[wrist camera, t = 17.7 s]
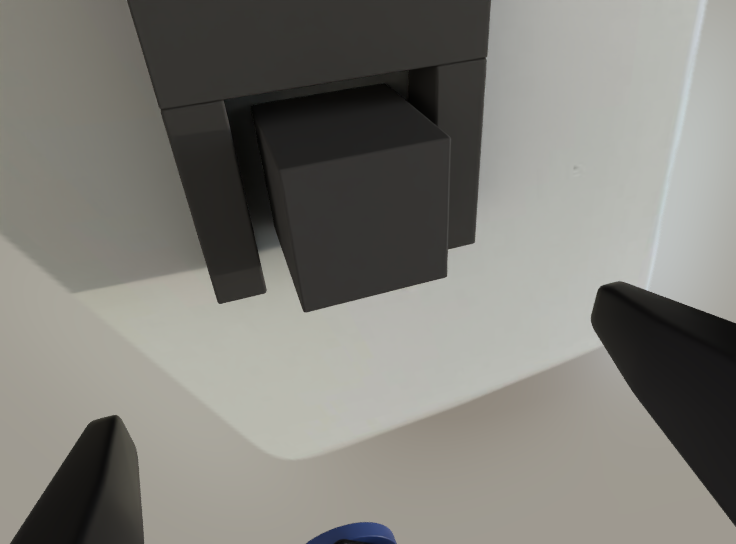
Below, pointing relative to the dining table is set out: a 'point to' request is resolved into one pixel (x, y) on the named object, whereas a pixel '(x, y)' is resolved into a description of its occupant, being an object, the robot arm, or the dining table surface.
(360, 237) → the pad block
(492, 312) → the dining table surface
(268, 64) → the base pad
